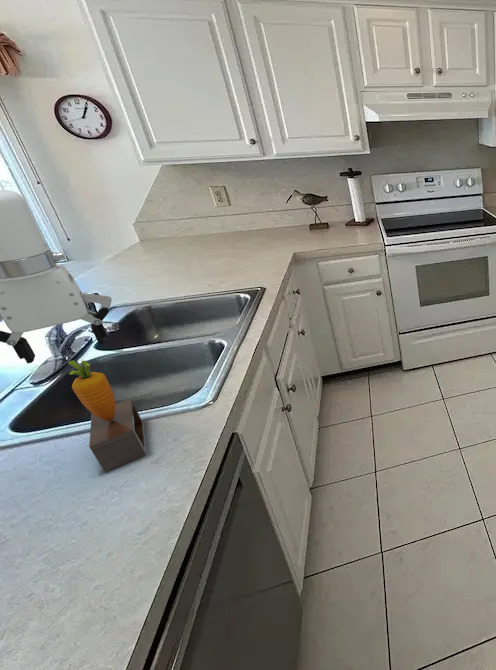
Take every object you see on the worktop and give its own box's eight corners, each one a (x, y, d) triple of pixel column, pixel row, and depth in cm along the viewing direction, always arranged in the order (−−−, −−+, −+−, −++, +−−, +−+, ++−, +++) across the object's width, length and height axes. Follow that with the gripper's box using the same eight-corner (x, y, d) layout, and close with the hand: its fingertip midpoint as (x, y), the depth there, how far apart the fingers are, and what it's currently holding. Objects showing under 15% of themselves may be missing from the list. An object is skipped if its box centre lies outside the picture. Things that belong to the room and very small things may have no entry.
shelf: (146, 455, 86) (133, 430, 83) (105, 472, 82) (89, 446, 79) (143, 422, 94) (131, 398, 91) (105, 436, 91) (91, 412, 88)
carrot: (130, 418, 86) (98, 358, 79) (99, 433, 82) (63, 371, 75) (121, 409, 88) (90, 351, 82) (91, 423, 84) (56, 363, 78)
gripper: (92, 249, 78) (127, 328, 85) (-50, 271, 67) (4, 358, 75) (90, 259, 72) (128, 342, 80) (-63, 285, 62) (-4, 377, 70)
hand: (68, 350), depth 77 cm, fingers open, 9 cm apart
